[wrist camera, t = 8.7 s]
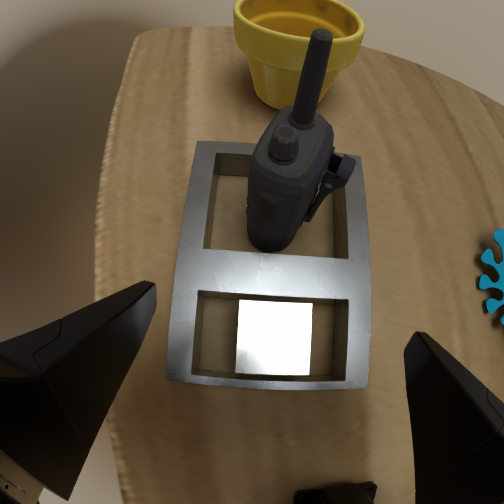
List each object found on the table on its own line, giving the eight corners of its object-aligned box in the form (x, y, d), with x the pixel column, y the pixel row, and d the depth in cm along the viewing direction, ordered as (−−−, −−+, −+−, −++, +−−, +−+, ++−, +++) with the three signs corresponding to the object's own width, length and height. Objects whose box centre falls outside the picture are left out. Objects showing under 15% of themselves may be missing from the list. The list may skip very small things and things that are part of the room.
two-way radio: (270, 184, 22) (301, 4, 8) (323, 208, 22) (410, 47, 8) (238, 245, 21) (231, 70, 7) (295, 272, 21) (394, 135, 6)
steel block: (296, 368, 19) (308, 374, 15) (236, 365, 19) (235, 372, 15) (298, 310, 20) (312, 303, 16) (240, 307, 20) (239, 300, 16)
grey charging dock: (350, 381, 18) (367, 387, 16) (176, 373, 18) (165, 379, 15) (348, 176, 23) (360, 156, 20) (201, 163, 23) (197, 140, 20)
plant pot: (214, 104, 25) (206, 17, 15) (262, 52, 28) (267, -20, 18) (319, 145, 24) (350, 58, 14) (349, 84, 27) (375, 13, 17)
